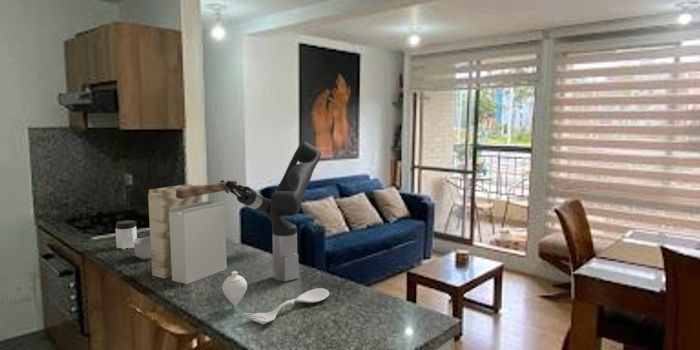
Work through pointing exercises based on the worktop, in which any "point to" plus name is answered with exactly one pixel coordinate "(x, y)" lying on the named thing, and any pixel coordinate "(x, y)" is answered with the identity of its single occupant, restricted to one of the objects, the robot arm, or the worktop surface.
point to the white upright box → (197, 241)
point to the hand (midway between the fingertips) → (224, 182)
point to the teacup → (142, 248)
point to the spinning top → (234, 288)
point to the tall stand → (164, 225)
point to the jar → (125, 234)
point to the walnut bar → (202, 190)
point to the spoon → (306, 297)
